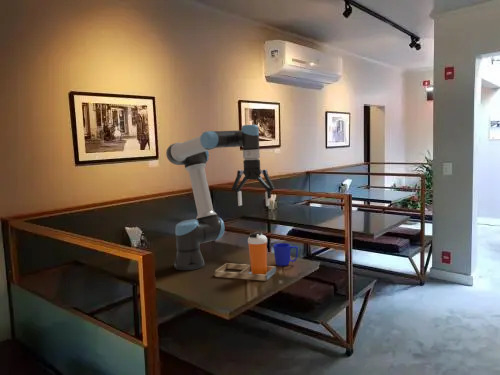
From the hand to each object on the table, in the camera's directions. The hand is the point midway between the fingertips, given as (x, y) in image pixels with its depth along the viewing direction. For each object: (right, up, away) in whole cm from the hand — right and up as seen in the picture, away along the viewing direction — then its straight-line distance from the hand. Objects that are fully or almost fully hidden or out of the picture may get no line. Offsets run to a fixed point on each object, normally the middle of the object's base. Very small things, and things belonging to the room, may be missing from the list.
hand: (253, 205), depth 190 cm
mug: (+16, -30, +17) cm, 39 cm away
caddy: (-4, -33, +6) cm, 33 cm away
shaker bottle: (+3, -33, +3) cm, 33 cm away
